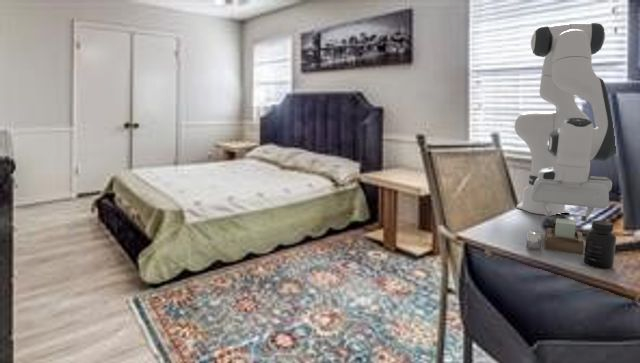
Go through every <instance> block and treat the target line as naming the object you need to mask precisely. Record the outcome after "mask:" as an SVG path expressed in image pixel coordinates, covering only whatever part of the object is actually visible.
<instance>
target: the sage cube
mask: <svg viewBox="0 0 640 363" xmlns="http://www.w3.org/2000/svg"><path fill="white" fill-rule="evenodd" d="M555 218H556V217H555ZM576 226H577V223H576V220H575V219H568V218H558V217H557V218H556V219H555V226H554V229H555V236H559V237H566V238H574V236H575V231H576V228H577V227H576Z"/></svg>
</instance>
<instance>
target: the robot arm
mask: <svg viewBox="0 0 640 363" xmlns="http://www.w3.org/2000/svg"><path fill="white" fill-rule="evenodd" d="M605 40H606V32H605V28H604V26H603V24H602V23H597V22H589V23H588V22H568V23H557V24H552V25H549V24H545V25H541V26H539V27H537V28H536V29H535V30H534V32H533V34H532V36H531V39H530V47H531V50H532V54H533V55H535V56H537V57H540V58H543V63H542V70H541V76H540V83H539V84H540V86H539V95H540V97H541V99H543V100H544V101H546V102H547V103H550V104H551V105H554V106H555V110H553V111H539V110H536V111H535V110H533V111H528V112H522V113H521V114H519V115H518V116H517V118H516V120H515V122H514V131H515V133H516V135H517V136H518V137H519V138H520V139H521V140H522V141H524V143H525V144H526V145H527V146H528V149H529V152H530V155H531V157H530V158H531V165H530V166H531V169H530V174H529V177H528V185H527V186H526V187H524V189H523V191H522V201H521V202H519V203H518V204H517V205H516V208H517V209H520V210H523V211H525V212H528V213H532V214H537V215H544V216H545V217H546V218H552V216H557V215H556V214H558V213H562V212H566V211H570V210H569V209H568V208H567V207H566V206H575V207H583V208H586V210H587V211H586V212H585V213H581V217H580V220H581V222H588V219H589V218H588V217H589V216H590V215H591V214H592V213H593V211H594V209H601V210H603V209H606V208H608V207H609V203H610V202H609V201H610V194H609V193H610V191H612V188H613V182H612V180H611V179H610V178H608V177H607V176H603V175H602V176H599V175H590V172H591V161H596V162H602V163H603V162H607V161H609V160H610V159H612V158H613V157H614V156H615V155H617V153H616V146H615V136H614V128H615V127H614V128H613V124H614V121H612V119H613V114H612V111H611V105H610V101H609V100H610V99H609V95H608V91H607V86H606V84H605V82H604V79H602V78H600V77H599V76H598V75H596V73H595V71H594V69H593V65H592V64H593V63H592V62H593V60H592V59H593V58H592V55H595V54H597V53H598V52H599V51H600V50H601V49H602V48H603V45H604V43H605ZM576 96H577V97H578V98H582V99H583V100H585V101H586V102H588V103H589V104H590V106H591V109H592V115H593V120H594V123H593V121H591V119H590V118H589V116H588V115H587V114H586V113H584V112H583V111H582V110H581V109H580V107H579V106H578V104H577V103H576V100H575V97H576ZM611 114H612V115H611ZM594 124H595V126H594Z"/></svg>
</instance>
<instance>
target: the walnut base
mask: <svg viewBox="0 0 640 363" xmlns="http://www.w3.org/2000/svg"><path fill="white" fill-rule="evenodd" d="M544 249H545V250H548V249H551V250H550V251H555V250H557V252H561V253H562V252H563V253H570V254H576V255H577V254H578V255H584V253H585V241H584V237H583V233H582V231H579V230H575V236H574V238H566V237H559V236H555V227H554V228H552V227H546V230H545V235H544Z"/></svg>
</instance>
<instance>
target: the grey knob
mask: <svg viewBox="0 0 640 363" xmlns="http://www.w3.org/2000/svg"><path fill="white" fill-rule="evenodd" d="M542 242H543V232H541V231H537V230H528V231H527V235H526V245H525V248H526V249H527V250H528V251H532V250H533V252H539V251H538V250H540V251H541V249H542Z"/></svg>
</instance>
